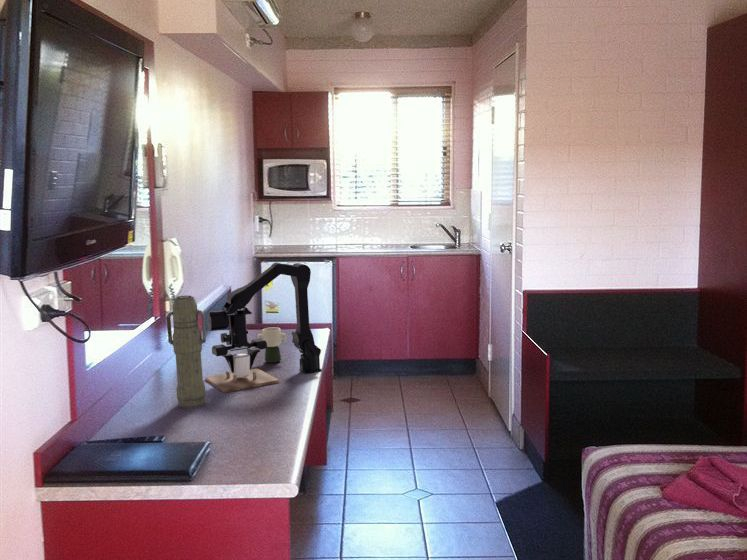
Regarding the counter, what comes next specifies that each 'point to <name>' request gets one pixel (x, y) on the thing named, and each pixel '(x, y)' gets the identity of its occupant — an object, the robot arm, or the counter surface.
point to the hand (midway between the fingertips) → (241, 371)
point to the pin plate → (241, 380)
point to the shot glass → (241, 364)
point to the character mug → (272, 343)
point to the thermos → (187, 351)
